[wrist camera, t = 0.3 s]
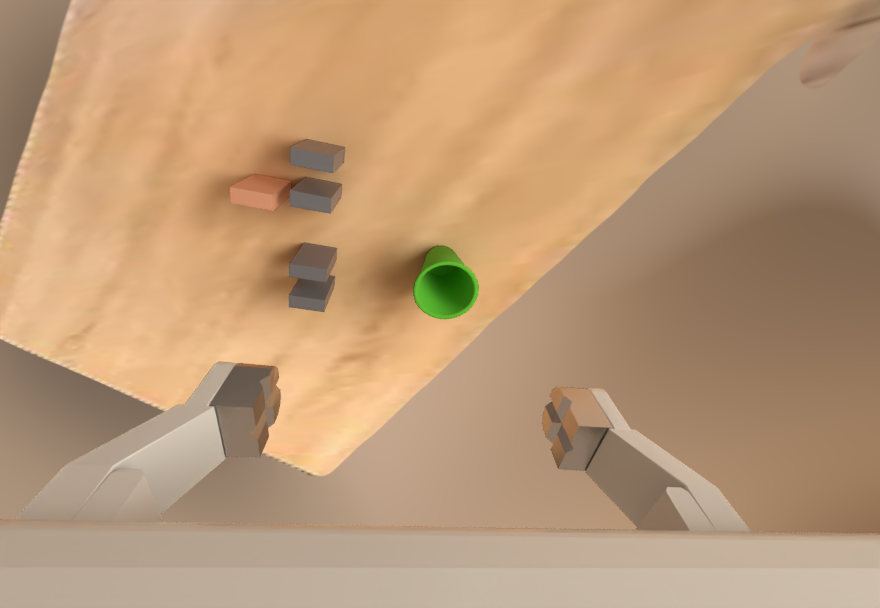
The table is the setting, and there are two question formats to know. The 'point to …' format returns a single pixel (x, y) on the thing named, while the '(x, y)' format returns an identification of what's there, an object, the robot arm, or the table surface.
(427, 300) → the cup
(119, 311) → the table surface
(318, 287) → the domino
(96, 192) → the table surface
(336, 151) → the domino
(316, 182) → the domino
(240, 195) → the domino
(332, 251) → the domino
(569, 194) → the table surface
